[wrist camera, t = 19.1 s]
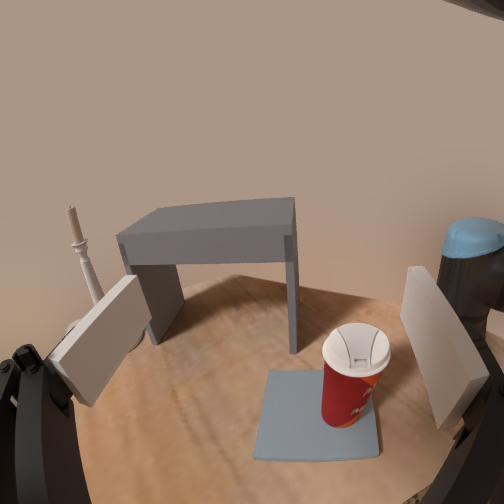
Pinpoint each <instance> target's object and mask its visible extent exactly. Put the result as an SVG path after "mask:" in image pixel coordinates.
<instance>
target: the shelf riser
mask: <svg viewBox="0 0 504 504" xmlns="http://www.w3.org/2000/svg"><path fill="white" fill-rule="evenodd" d="M116 237H117V241H118V245H119V248H120V252H121V255H122V259H123V262H124V265H125V268H126V272H127V275H137V276H138V279H139V283H140V285H141V288H142V291H143V294H144V297H145V300H146V303H147V306H148V308H149V311H150V314H151V316H152V319H151V320H150V321H149V323H148V324H147V326H146V329H147V331H148V334H149V336H150V339H151V341H152V344H153V345H158V344H159V342H160V341H161V339H162V337H163V336H164V334H165V333H166V331H167V329H168V328H169V326H170V325H171V323H172V322H173V320H174V318H175V317H176V315H177V314H178V312H179V310H180V309H181V307H182V306H183V304H184V303H185V300H184V296H183V292H182V288H181V285H180V281H179V277H178V273H177V269H176V265H175V264H221V263H222V264H224V263H262V262H263V263H266V262H285V265H286V282H287V300H288V320H289V344H290V354H297V341H298V323H299V275H298V274H299V273H298V251H297V231H296V214H295V199H294V197H288V198H270V199H255V200H240V201H228V202H215V203H205V204H193V205H183V206H174V207H164V208H158V209H156V210H155V211H153V212H151V213H150V214H148V215H146V216H145V217H143V218H142V219H140V220H139V221H137V222H136V223H134V224H132V225H131V226H129V227H128V228H126V229H125V230H123V231H122V232H120V233H119V234H118V235H116Z"/></svg>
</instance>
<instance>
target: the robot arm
mask: <svg viewBox="0 0 504 504" xmlns="http://www.w3.org/2000/svg"><path fill="white" fill-rule="evenodd" d="M444 1H446V2H449V3H452V4H456V5H458V6H461V7H463V8H466V9H468V10H471V11H474V12H477V13H480V14H483V15H486V16H489V17H492V18H496V19H499V20H503V21H504V0H444ZM490 308H491V309H495V310H497V311H500V312H504V224H503V223H498V221H495V220H490V219H483V218H467V219H461V220H458V221H455V222H454V223H452V224H451V225H450V226H449V227H448V229H447V232H446V237H445V242H444V246H443V248H442V258H441V264H440V269H439V275H438V279H437V284H436V283H435V282H434V280H433V279H432V277H431V276H430V275H429V273H428V272H427V270H426V269H425V268H424V266H411V267H408V274H407V280H406V286H405V292H404V298H403V303H402V308H401V313H400V318H401V320H402V323H403V325H404V328H405V330H406V333H407V335H408V338H409V341H410V343H411V346H412V349H413V351H414V354H415V357H416V360H417V363H418V366H419V368H420V371H421V374H422V377H423V381H424V384H425V387H426V390H427V393H428V397H429V400H430V404H431V407H432V411H433V414H434V418H435V422H436V426H437V430H440V429H444V428H448V427H451V426H454V425H456V424H457V422H458V421H459V420H460V419H461V417H462V416H463V419H464V423H465V424H464V425H463V427H462V428H461V429H460V430H459V431H458V433H457V434H456V435H455V436H454V438H453V439H454V440H455V439H456V438H457V439H456V441H455V443H454V445H453V447H452V449H451V451H450V453H449V455H448V457H447V459H446V461H445V462H444V464H443V466H442V468H441V469H440V471H439V473H438V475H437V476H436V478H435V480H434V481H433V483H432V484H431V486H430V488H429V489H428V491H427V492H426V494H425V495H424V497H423V498H422V500H421V501H420V502H419V504H487V503H488V501H489V499H490V497H491V499H490V502H489V504H504V374H503V372H502V370H501V368H500V366H499V364H498V363H497V361H496V359H495V357H494V355H493V353H492V352H491V350H490V348H488V345H487V343H486V341H485V334H486V324H487V316H488V314H489V311H490ZM151 319H152V316H151V314H150V311H149V308H148V306H147V303H146V300H145V297H144V294H143V291H142V288H141V285H140V283H139V279H138V276H137V275H125V276H124V277H123V278H122V279H121V280H120V281H119V282H118V283H117V284H116V285H115V286H114V287H113V288H112V289H111V290H110V291H109V292H108V293H107V294H106V295H105V296H104V297H103V298H102V299H101V300H100V301H99V302H98V303H97V304H96V305H95V306H94V308H93V309H91V311H90V312H89V313H88V314H87V315H86V316H85V317H84V318H83V319H82V320H81V321H80V322H79V323H78V324H77V325H76V326H75V327H73V328H72V329H71V330H70V331H69V332H68V334H67V335H66V336H65V337H64V338H63V339H62V341H61V342H59V344H58V345H57V346H56V347H55V348H54V349H53V350H52V351H51V353H50V354H49V355H48V356H47V357H46V359H45V360H42V359H41V357H40V356H39V354H38V352H37V351H36V349H35V347H34V346H33V345H32V344H26V345H23V346H21V347H20V348H18V349H17V350H16V351H15V353H14V354H13V356H12V358H13V360H14V361H15V362H14V361H13V360H12V359H7V360H5V361H3V362H2V363H1V364H0V504H92V503H91V500H90V496H89V493H88V489H87V485H86V481H85V476H84V472H83V467H82V462H81V457H80V451H79V445H78V438H77V431H76V423H75V414H74V404H73V401H72V400H71V399H70V398H71V397H72V395H74V396H75V397H76V399H77V400H78V401H79V403H81V404H84V405H86V406H89V407H91V408H92V406H93V405H94V403H95V402H96V400H97V399H98V397H99V395H100V394H101V392H102V391H103V389H104V388H105V386H106V385H107V383H108V382H109V380H110V379H111V377H112V376H113V374H114V373H115V371H116V370H117V368H118V367H119V365H120V364H121V362H122V361H123V359H124V358H125V356H126V355H127V353H128V352H129V350H130V349H131V347H132V346H133V344H134V343H135V342H136V340H137V339H138V337H139V336H140V334H141V333H142V331H143V330H144V329H145V327H146V326H147V324H148V323H149V321H150V320H151ZM16 364H17V365H16ZM18 367H19V368H18ZM11 396H13V397H14V399H15V400H16V401H17V402H18V403H17V407H16V406H15V405H14V404H13V403H12V402H11V401H10V399H11Z"/></svg>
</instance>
